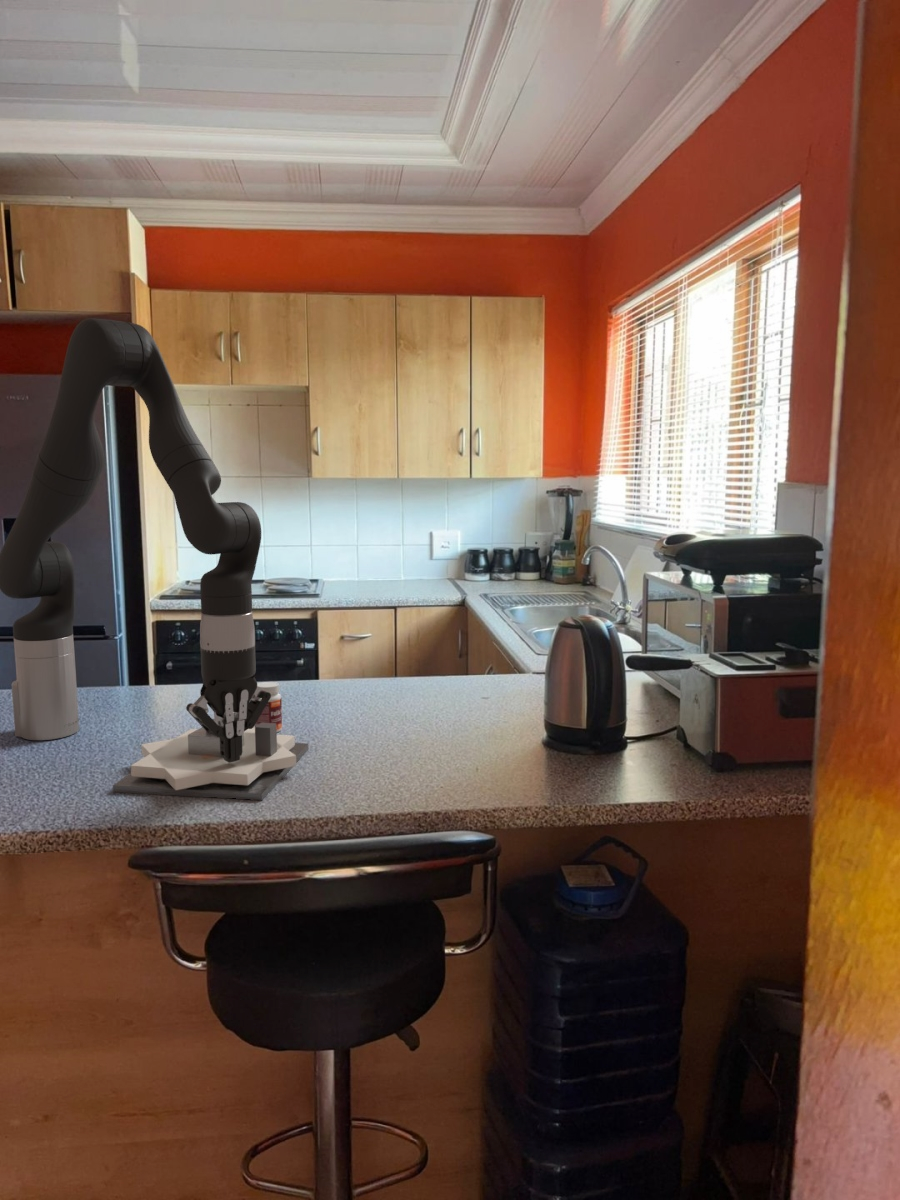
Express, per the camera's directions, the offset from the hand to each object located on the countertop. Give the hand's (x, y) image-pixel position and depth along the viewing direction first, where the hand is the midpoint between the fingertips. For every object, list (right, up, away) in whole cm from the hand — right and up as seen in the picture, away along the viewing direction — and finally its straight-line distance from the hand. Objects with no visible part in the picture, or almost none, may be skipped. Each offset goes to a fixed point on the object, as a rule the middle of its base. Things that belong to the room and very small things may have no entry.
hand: (231, 760), depth 121 cm
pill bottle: (0, 0, +26) cm, 26 cm away
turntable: (-4, -1, +7) cm, 8 cm away
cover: (-4, 0, +6) cm, 8 cm away
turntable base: (-4, -3, +7) cm, 8 cm away
